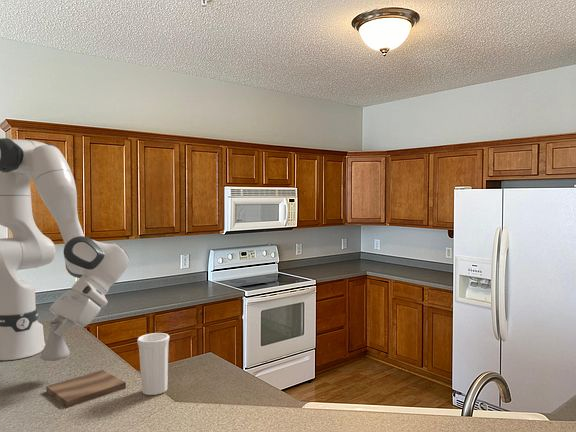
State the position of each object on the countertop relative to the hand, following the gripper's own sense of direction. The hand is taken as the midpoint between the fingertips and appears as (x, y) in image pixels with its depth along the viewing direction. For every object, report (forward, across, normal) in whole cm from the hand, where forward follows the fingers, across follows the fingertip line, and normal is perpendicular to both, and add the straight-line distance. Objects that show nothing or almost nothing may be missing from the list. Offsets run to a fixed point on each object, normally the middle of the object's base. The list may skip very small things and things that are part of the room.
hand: (53, 332), depth 124 cm
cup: (-1, +29, +20) cm, 35 cm away
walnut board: (+7, +14, +12) cm, 19 cm away
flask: (+5, 0, +6) cm, 7 cm away
